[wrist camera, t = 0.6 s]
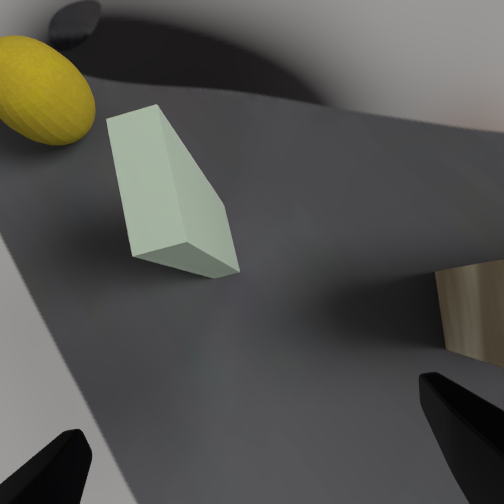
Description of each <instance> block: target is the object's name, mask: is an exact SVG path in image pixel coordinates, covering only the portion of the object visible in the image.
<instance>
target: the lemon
mask: <svg viewBox="0 0 504 504" xmlns="http://www.w3.org/2000/svg"><path fill="white" fill-rule="evenodd" d="M94 118H95V101H94V97H93V94H92V92H91V89H90V87H89V85H88V83H87V82H86V80H85V79H84V77H83V76H82V75H81V73H80V72H79V71H78V69H77V68H76V67H75V66H74V65H73V64H72V63H71V62H70V61H69V60H68V59H66V58H65V57H64V56H62V55H61V54H60V53H58V52H57V51H56V50H54V49H53V48H51V47H50V46H48V45H46V44H44V43H43V42H40V41H38V40H35V39H32V38H29V37H25V36H5V37H0V119H1V120H2V121H3V122H4V123H5V124H7V125H8V126H9V127H10V128H12V129H13V130H15V131H17V132H18V133H20V134H22V135H23V136H25V137H27V138H29V139H31V140H33V141H36V142H40V143H44V144H48V145H67V144H71V143H74V142H76V141H78V140H80V139H81V138H82V137H84V136H85V135H86V134H87V133H88V131H89V130H90V129H91V127H92V124H93V122H94Z"/></svg>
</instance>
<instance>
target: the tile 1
mask: <svg viewBox="0 0 504 504" xmlns="http://www.w3.org/2000/svg"><path fill="white" fill-rule="evenodd" d="M435 276H436V283H437V290H438V297H439V304H440V311H441V318H442V325H443V332H444V338H445V345H446V350H449V351H452V352H456V353H459V354H462V355H465V356H468V357H471V358H474V359H478V360H481V361H484V362H487V363H490V364H493V365H496V366H499V367H503V368H504V259H501V260H495V261H490V262H484V263H479V264H473V265H468V266H462V267H457V268H451V269H446V270H440V271H435Z"/></svg>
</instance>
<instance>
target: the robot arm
mask: <svg viewBox="0 0 504 504" xmlns="http://www.w3.org/2000/svg"><path fill="white" fill-rule="evenodd" d="M419 393H420V403H421V406H422V409H423V411H424V414H425V416H426V418H427V420H428V422H429V425H430V427H431V429H432V431H433V433H434V435H435V438H436V440H437V442H438V444H439V446H440V448H441V451H442V453H443V455H444V457H445V459H446V462H447V464H448V466H449V468H450V470H451V472H452V474H453V476H454V477H455V479H456V481H457V483H458V485H459V486H460V488H461V490H462V492H463V493H464V495H465V497H466V498H467V500H468V502H469V504H504V411H503V410H502V409H500V408H498V407H496V406H495V405H493V404H491V403H490V402H488V401H486V400H484V399H483V398H481V397H479V396H478V395H476V394H474V393H472V392H471V391H469V390H467V389H466V388H464V387H462V386H460V385H459V384H457V383H455V382H454V381H452V380H450V379H448V378H447V377H445V376H443V375H442V374H440V373H438V372H429V373H423V374H421V375H420V376H419ZM91 461H92V450H91V448H90V446H89V444H88V442H87V440H86V438H85V436H84V434H83V432H82V431H81V430H80V429H73V430H67V431H64V432H62V433H61V434H60V435H59V436H57V437H56V438H55V439H54V440H53V441H52V442H50V443H49V444H48V445H47V446H46V447H44V448H43V449H42V450H41V451H39V452H38V453H37V454H36V455H35V456H33V457H32V458H31V459H30V460H29V461H28V462H26V463H25V464H24V465H23V466H21V467H20V468H19V469H18V470H17V471H16V472H14V473H13V474H12V475H11V476H9V477H8V478H7V479H6V480H5V481H3V482H2V483H1V484H0V504H80V501H81V497H82V494H83V490H84V486H85V483H86V479H87V476H88V472H89V468H90V465H91Z"/></svg>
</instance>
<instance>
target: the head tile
mask: <svg viewBox="0 0 504 504" xmlns="http://www.w3.org/2000/svg"><path fill="white" fill-rule="evenodd" d="M106 121H107V127H108V132H109V137H110V142H111V147H112V153H113V158H114V163H115V168H116V174H117V179H118V184H119V189H120V194H121V200H122V205H123V210H124V215H125V221H126V226H127V231H128V236H129V242H130V247H131V252H132V256H133V257H137V258H140V259H144V260H147V261H151V262H155V263H158V264H162V265H166V266H169V267H173V268H177V269H180V270H184V271H188V272H191V273H195V274H199V275H202V276H206V277H210V278H213V279H215V278H219V277H223V276H227V275H231V274H235V273H239V272H240V270H239V266H238V261H237V257H236V253H235V249H234V245H233V241H232V237H231V232H230V228H229V224H228V220H227V216H226V212H225V208H224V204H223V203H222V201H221V200H220V198H219V197H218V195H217V194H216V192H215V191H214V189H213V188H212V186H211V185H210V183H209V182H208V180H207V179H206V177H205V176H204V174H203V173H202V171H201V170H200V168H199V167H198V165H197V164H196V162H195V161H194V159H193V158H192V156H191V155H190V153H189V152H188V150H187V149H186V147H185V146H184V144H183V143H182V141H181V140H180V138H179V137H178V135H177V134H176V132H175V131H174V129H173V128H172V126H171V125H170V123H169V122H168V120H167V119H166V117H165V116H164V114H163V113H162V111H161V110H160V108H159V107H158V105H157V104H156V105H153V106H149V107H146V108H143V109H139V110H136V111H132V112H129V113H125V114H122V115H119V116H115V117H112V118H108V119H106Z"/></svg>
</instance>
